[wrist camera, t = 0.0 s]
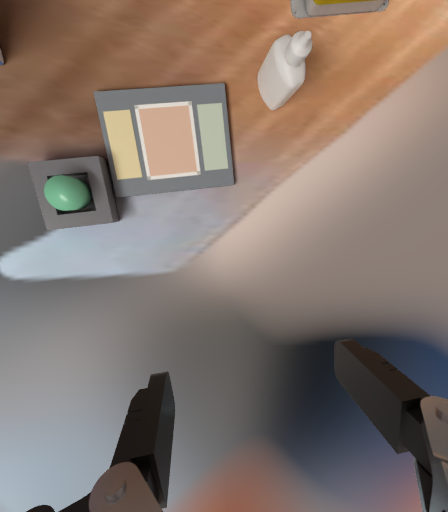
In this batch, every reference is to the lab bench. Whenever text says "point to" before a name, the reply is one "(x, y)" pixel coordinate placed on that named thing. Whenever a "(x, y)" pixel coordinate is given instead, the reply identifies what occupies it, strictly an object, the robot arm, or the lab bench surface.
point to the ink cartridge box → (1, 58)
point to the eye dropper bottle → (284, 68)
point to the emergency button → (335, 7)
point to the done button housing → (87, 171)
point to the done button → (67, 193)
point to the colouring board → (166, 138)
